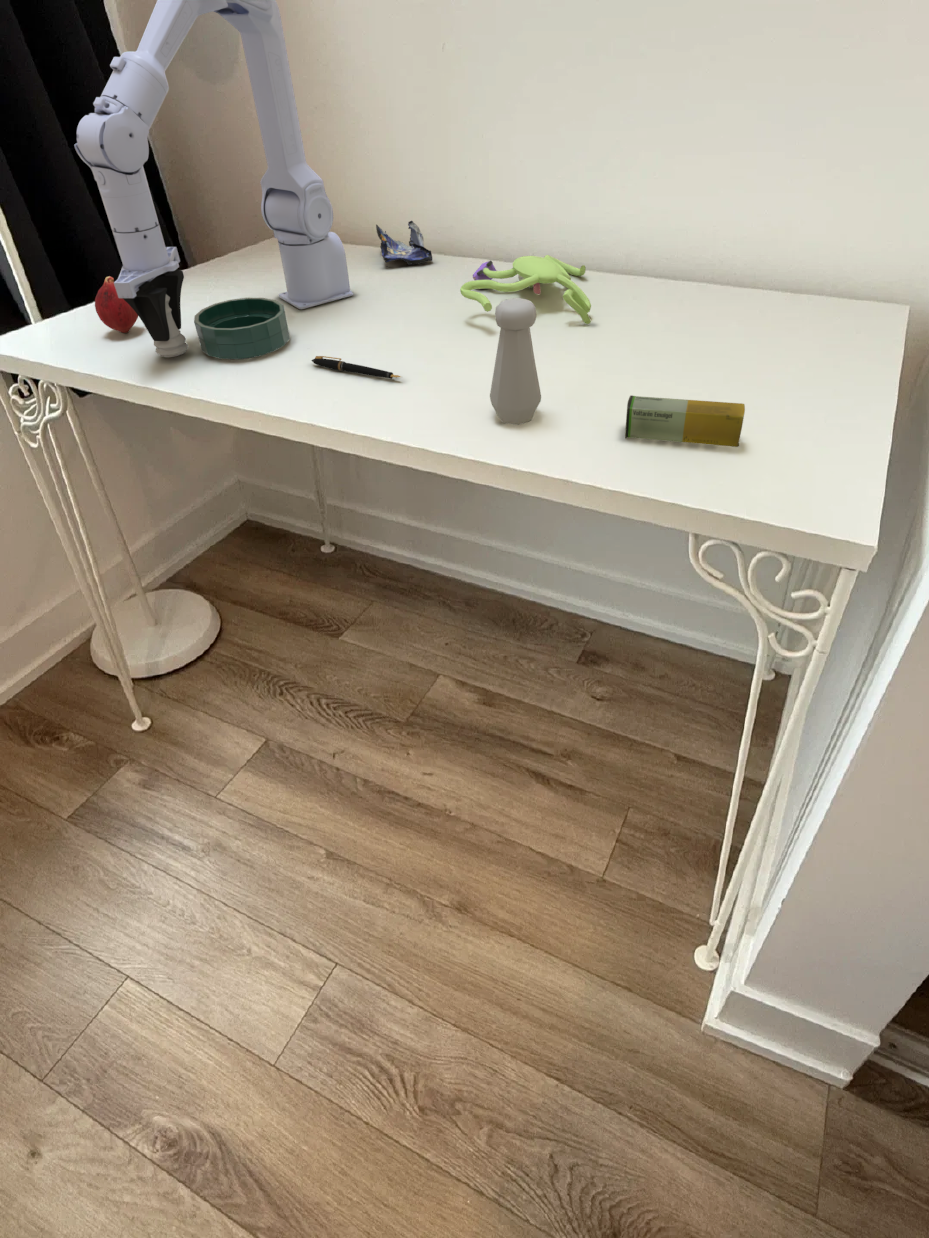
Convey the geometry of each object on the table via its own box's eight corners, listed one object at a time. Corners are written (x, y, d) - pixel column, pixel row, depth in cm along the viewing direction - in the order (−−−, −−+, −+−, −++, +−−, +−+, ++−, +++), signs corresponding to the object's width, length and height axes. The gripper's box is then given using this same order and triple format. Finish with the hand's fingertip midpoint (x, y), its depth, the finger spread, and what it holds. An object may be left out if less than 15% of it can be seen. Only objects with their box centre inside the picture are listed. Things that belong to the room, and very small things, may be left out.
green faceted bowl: (268, 322, 117) (261, 291, 114) (305, 346, 109) (299, 313, 106) (190, 344, 112) (181, 312, 109) (223, 370, 104) (214, 337, 101)
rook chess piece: (195, 350, 108) (179, 291, 103) (166, 360, 106) (148, 300, 101) (178, 342, 111) (161, 284, 105) (150, 352, 108) (131, 293, 103)
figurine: (458, 335, 110) (456, 294, 106) (472, 273, 130) (471, 237, 126) (591, 333, 108) (594, 292, 104) (584, 271, 128) (586, 234, 124)
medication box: (623, 439, 85) (625, 407, 82) (626, 426, 87) (628, 393, 84) (738, 448, 82) (744, 415, 79) (740, 434, 84) (746, 401, 81)
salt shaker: (488, 407, 92) (485, 294, 84) (536, 403, 93) (538, 290, 84) (493, 430, 88) (491, 313, 80) (544, 426, 88) (547, 309, 80)
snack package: (446, 249, 141) (385, 245, 144) (443, 212, 136) (380, 209, 139) (427, 282, 134) (363, 278, 136) (423, 245, 129) (357, 241, 131)
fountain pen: (405, 380, 99) (404, 369, 98) (401, 384, 98) (399, 373, 97) (314, 363, 105) (312, 352, 104) (309, 366, 104) (307, 355, 103)
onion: (132, 341, 114) (114, 284, 108) (97, 340, 115) (77, 283, 109) (152, 326, 118) (135, 271, 113) (118, 325, 119) (99, 270, 114)
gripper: (140, 243, 92) (173, 356, 101) (188, 211, 103) (214, 315, 112) (84, 244, 93) (122, 355, 102) (138, 211, 104) (168, 315, 113)
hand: (167, 334), depth 107 cm, fingers closed on rook chess piece, 3 cm apart
